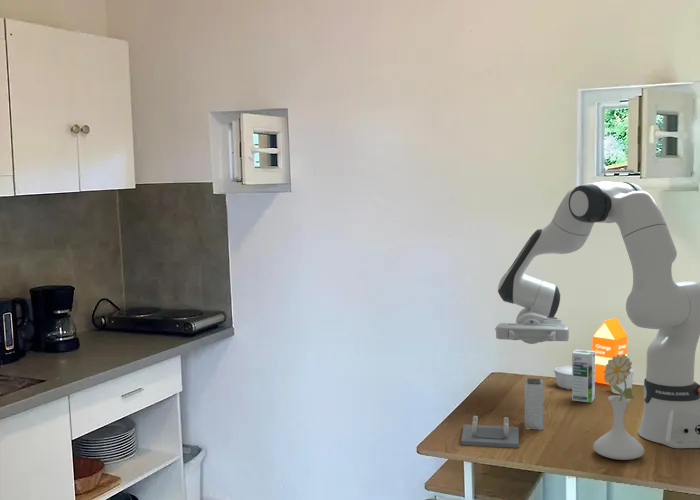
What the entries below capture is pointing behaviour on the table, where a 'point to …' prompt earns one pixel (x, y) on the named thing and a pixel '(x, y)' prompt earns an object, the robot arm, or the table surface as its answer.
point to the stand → (490, 435)
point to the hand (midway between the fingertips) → (532, 337)
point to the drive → (534, 403)
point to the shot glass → (622, 385)
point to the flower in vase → (618, 415)
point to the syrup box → (583, 376)
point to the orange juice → (608, 346)
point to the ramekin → (564, 376)
